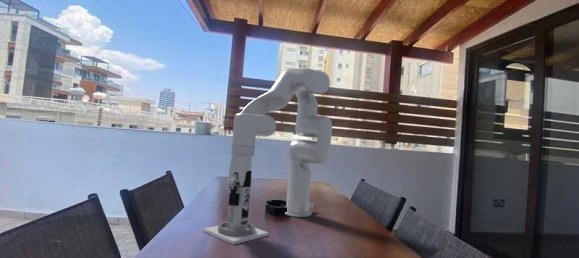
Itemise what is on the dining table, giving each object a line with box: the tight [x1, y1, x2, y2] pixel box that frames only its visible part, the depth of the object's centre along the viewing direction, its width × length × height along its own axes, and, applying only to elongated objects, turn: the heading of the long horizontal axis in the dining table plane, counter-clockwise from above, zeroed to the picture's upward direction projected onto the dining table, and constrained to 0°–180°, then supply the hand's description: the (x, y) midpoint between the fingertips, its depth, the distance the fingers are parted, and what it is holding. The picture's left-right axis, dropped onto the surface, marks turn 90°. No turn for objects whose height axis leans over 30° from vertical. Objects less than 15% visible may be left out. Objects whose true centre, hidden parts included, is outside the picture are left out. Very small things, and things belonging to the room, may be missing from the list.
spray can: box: [226, 170, 252, 231], centre depth 115 cm, size 7×7×20 cm
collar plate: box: [203, 220, 269, 245], centre depth 115 cm, size 15×15×2 cm
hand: (238, 202), depth 115 cm, fingers open, 9 cm apart
